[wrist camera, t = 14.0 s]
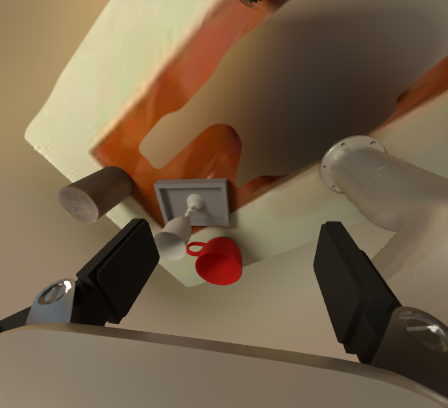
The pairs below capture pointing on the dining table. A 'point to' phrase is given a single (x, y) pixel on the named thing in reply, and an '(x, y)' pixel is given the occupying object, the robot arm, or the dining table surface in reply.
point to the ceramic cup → (218, 261)
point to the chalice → (178, 231)
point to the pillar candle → (95, 194)
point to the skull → (249, 3)
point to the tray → (207, 188)
